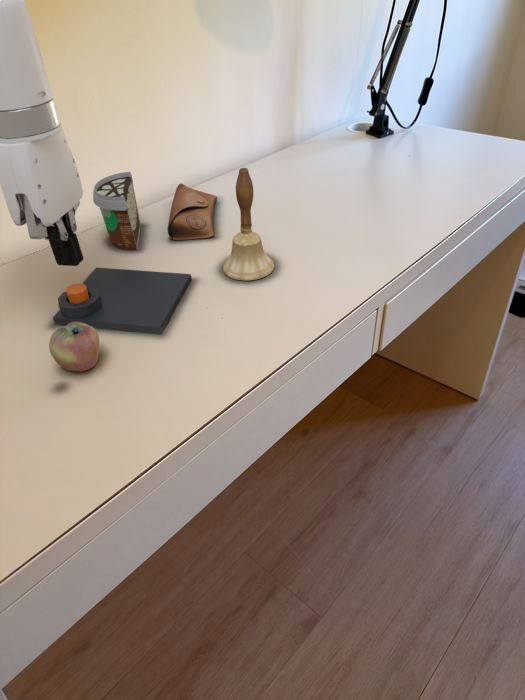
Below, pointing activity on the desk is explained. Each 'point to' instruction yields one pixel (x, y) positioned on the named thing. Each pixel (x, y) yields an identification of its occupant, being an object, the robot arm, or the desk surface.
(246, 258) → the hand bell
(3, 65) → the robot arm
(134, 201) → the food container
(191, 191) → the sunglasses case
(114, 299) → the scale
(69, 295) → the button
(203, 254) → the desk surface
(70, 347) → the apple
